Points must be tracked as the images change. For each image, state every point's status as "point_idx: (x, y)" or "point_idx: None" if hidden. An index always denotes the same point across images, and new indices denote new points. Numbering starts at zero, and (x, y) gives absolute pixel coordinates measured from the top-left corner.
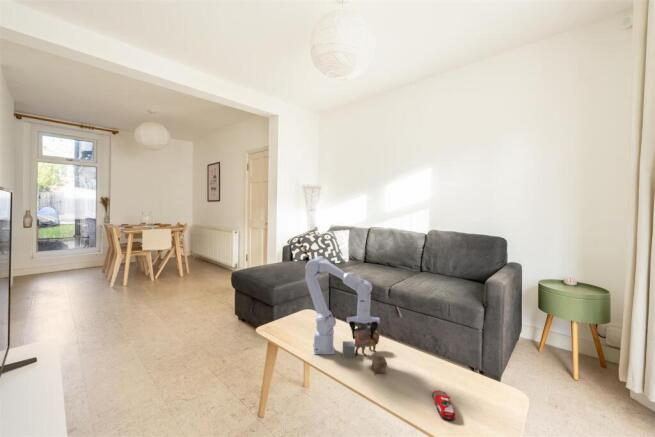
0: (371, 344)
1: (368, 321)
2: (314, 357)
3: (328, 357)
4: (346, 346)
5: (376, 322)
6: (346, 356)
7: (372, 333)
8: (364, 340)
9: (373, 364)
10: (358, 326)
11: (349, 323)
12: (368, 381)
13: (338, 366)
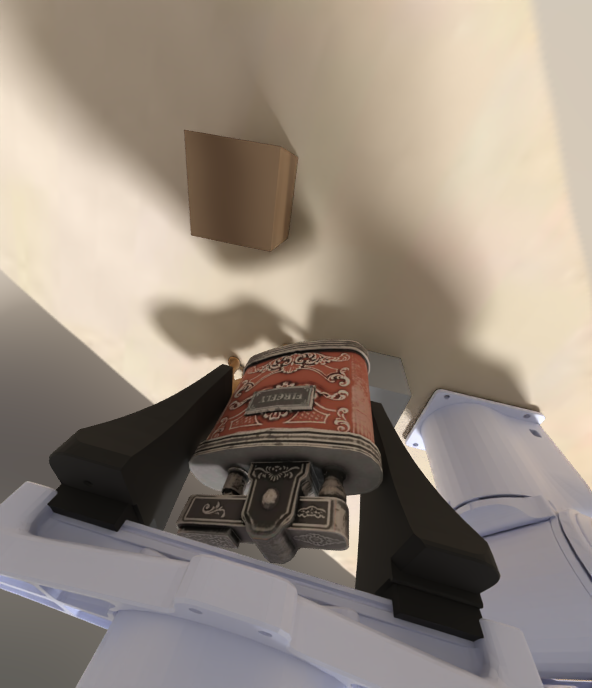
0: (237, 381)
1: (150, 579)
2: (559, 391)
3: (482, 373)
4: (394, 394)
5: (59, 507)
6: (386, 357)
7: (196, 394)
8: (289, 370)
9: (284, 204)
10: (341, 514)
11: (479, 607)
12: (373, 63)
13: (479, 286)
